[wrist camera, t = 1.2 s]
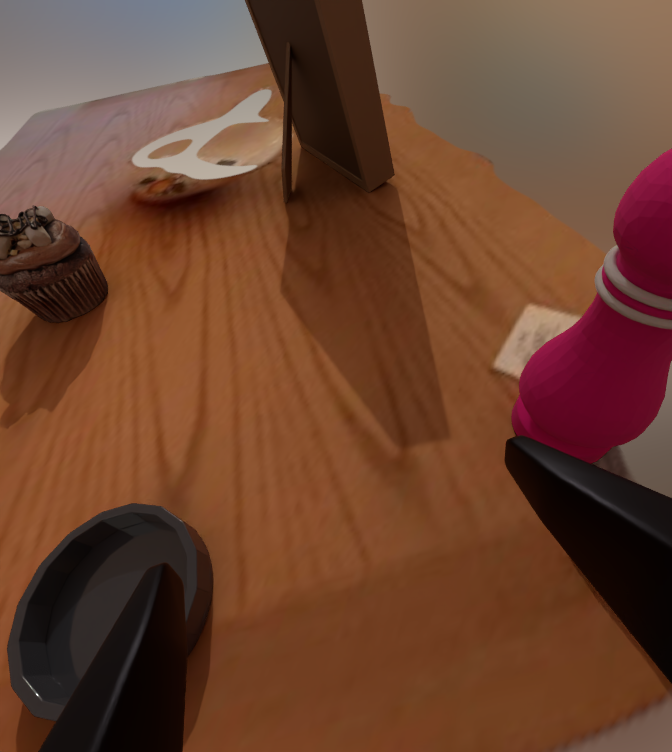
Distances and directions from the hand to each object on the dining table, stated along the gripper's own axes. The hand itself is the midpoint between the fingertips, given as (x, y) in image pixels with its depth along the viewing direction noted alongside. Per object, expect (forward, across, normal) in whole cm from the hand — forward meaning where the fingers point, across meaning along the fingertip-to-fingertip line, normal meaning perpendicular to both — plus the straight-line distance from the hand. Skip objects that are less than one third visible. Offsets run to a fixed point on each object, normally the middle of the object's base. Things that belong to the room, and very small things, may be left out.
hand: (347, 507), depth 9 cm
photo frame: (+57, -12, -3) cm, 58 cm away
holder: (+9, +14, +13) cm, 21 cm away
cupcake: (+41, +22, +2) cm, 47 cm away
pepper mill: (+10, -16, +13) cm, 23 cm away
